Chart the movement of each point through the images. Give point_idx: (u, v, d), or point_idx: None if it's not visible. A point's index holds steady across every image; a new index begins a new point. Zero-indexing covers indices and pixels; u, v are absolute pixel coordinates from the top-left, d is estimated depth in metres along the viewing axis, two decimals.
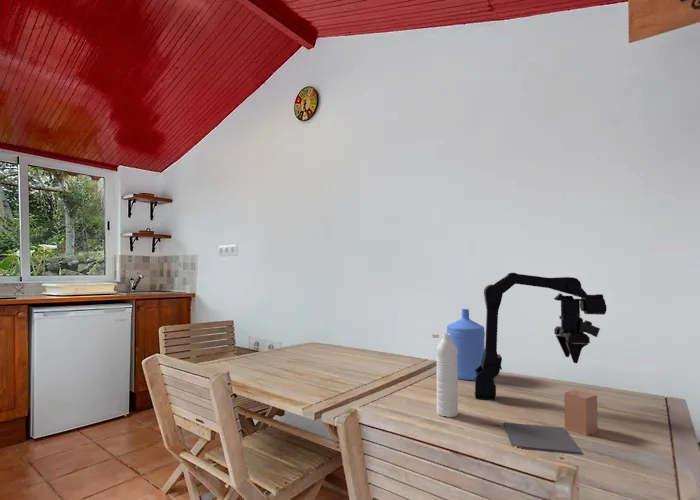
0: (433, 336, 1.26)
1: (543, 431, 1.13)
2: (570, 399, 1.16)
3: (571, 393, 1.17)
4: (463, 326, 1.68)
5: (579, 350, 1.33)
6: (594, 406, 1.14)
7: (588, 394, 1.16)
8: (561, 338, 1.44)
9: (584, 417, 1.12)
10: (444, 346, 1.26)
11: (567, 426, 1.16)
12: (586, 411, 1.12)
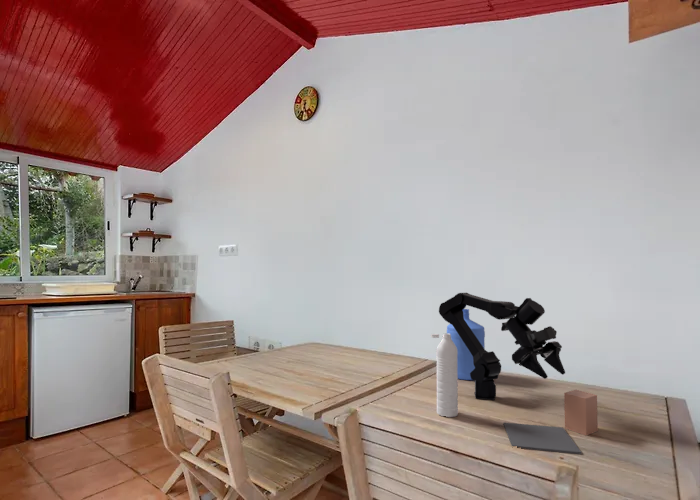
0: (433, 336, 1.26)
1: (543, 431, 1.13)
2: (570, 399, 1.16)
3: (571, 393, 1.17)
4: None
5: (535, 364, 1.22)
6: (594, 406, 1.14)
7: (588, 394, 1.16)
8: (547, 359, 1.30)
9: (584, 417, 1.12)
10: (444, 346, 1.26)
11: (567, 426, 1.16)
12: (586, 411, 1.12)
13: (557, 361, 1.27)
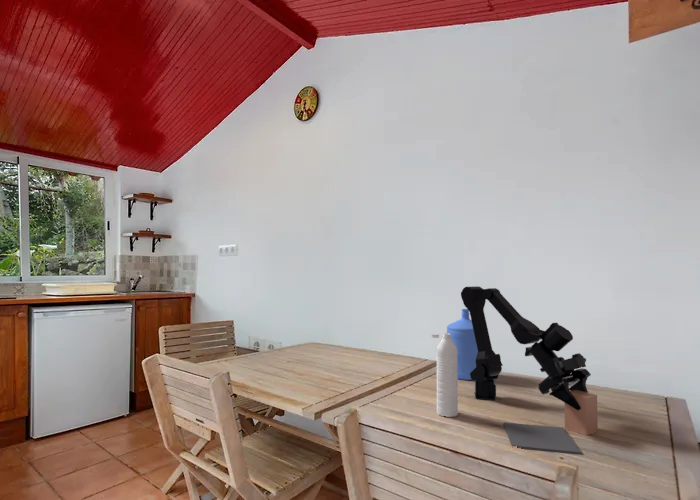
0: (433, 336, 1.26)
1: (543, 431, 1.13)
2: None
3: None
4: (463, 326, 1.68)
5: (567, 394, 1.15)
6: (594, 406, 1.14)
7: (588, 394, 1.16)
8: (572, 388, 1.22)
9: (584, 417, 1.12)
10: (444, 346, 1.26)
11: (567, 426, 1.16)
12: (586, 411, 1.12)
13: (584, 391, 1.19)
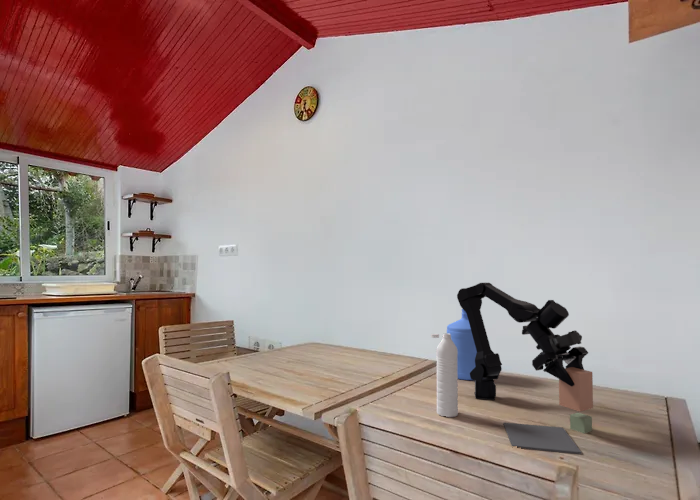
0: (433, 336, 1.26)
1: (543, 431, 1.13)
2: None
3: (566, 370, 1.16)
4: (463, 326, 1.68)
5: (561, 370, 1.14)
6: (589, 383, 1.13)
7: (583, 371, 1.15)
8: (569, 366, 1.21)
9: (578, 393, 1.11)
10: (444, 346, 1.26)
11: (561, 403, 1.15)
12: (580, 387, 1.11)
13: None
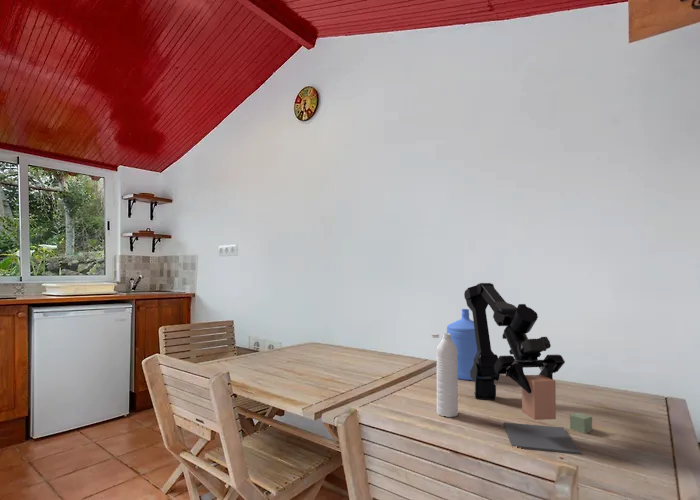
0: (433, 336, 1.26)
1: (543, 431, 1.13)
2: None
3: (528, 376, 1.12)
4: (463, 326, 1.68)
5: (519, 376, 1.11)
6: (550, 392, 1.08)
7: (546, 379, 1.10)
8: (541, 373, 1.15)
9: (533, 401, 1.08)
10: (444, 346, 1.26)
11: (523, 410, 1.12)
12: (535, 395, 1.07)
13: None
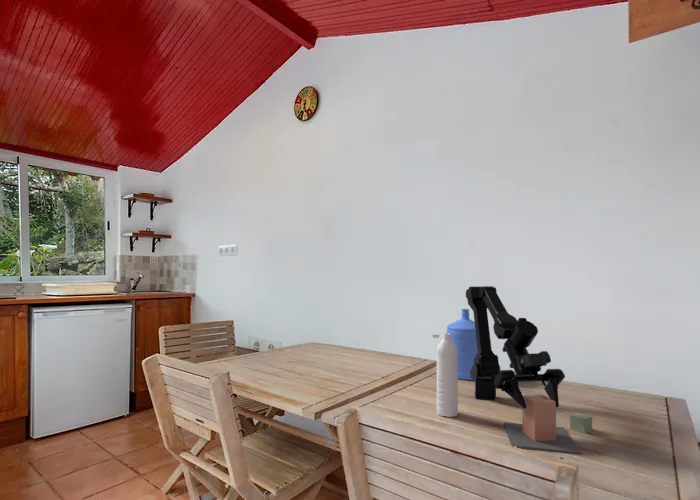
0: (433, 336, 1.26)
1: None
2: (525, 402, 1.11)
3: (528, 396, 1.12)
4: (463, 326, 1.68)
5: (515, 391, 1.11)
6: (550, 413, 1.08)
7: (546, 400, 1.09)
8: (546, 388, 1.15)
9: (533, 422, 1.07)
10: (444, 346, 1.26)
11: (524, 430, 1.12)
12: (535, 416, 1.07)
13: (552, 391, 1.12)
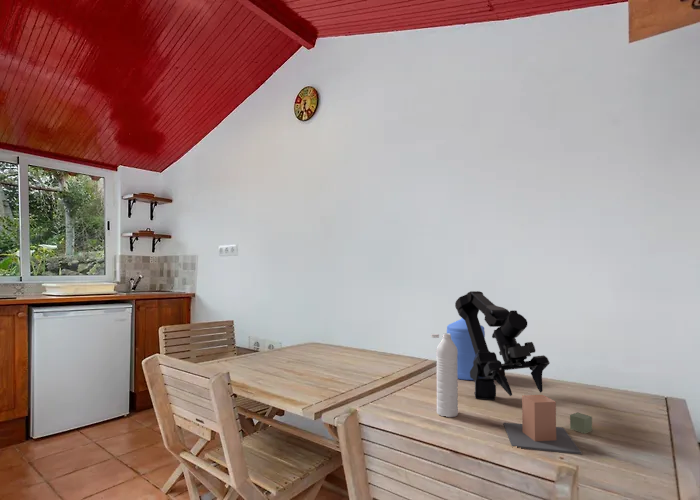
0: (433, 336, 1.26)
1: None
2: (525, 402, 1.11)
3: (528, 396, 1.12)
4: (463, 326, 1.68)
5: None
6: (550, 413, 1.08)
7: (546, 400, 1.09)
8: (532, 373, 1.25)
9: (533, 422, 1.07)
10: (444, 346, 1.26)
11: (524, 430, 1.12)
12: (535, 416, 1.07)
13: (537, 378, 1.22)
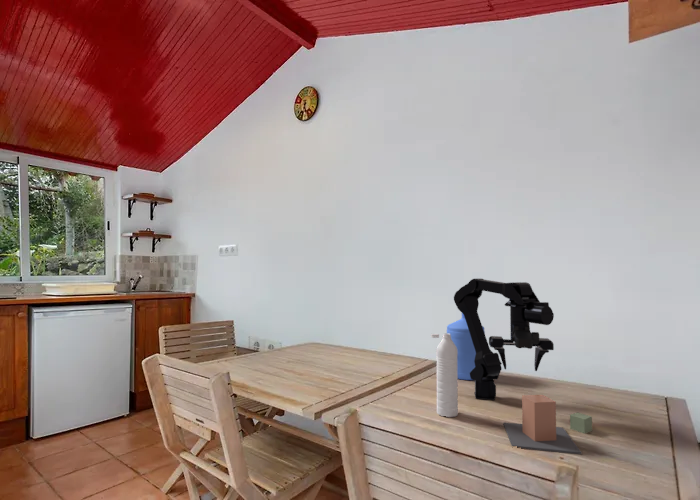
0: (433, 336, 1.26)
1: None
2: (525, 402, 1.11)
3: (528, 396, 1.12)
4: (463, 326, 1.68)
5: None
6: (550, 413, 1.08)
7: (546, 400, 1.09)
8: (535, 349, 1.32)
9: (533, 422, 1.07)
10: (444, 346, 1.26)
11: (524, 430, 1.12)
12: (535, 416, 1.07)
13: (536, 359, 1.30)
